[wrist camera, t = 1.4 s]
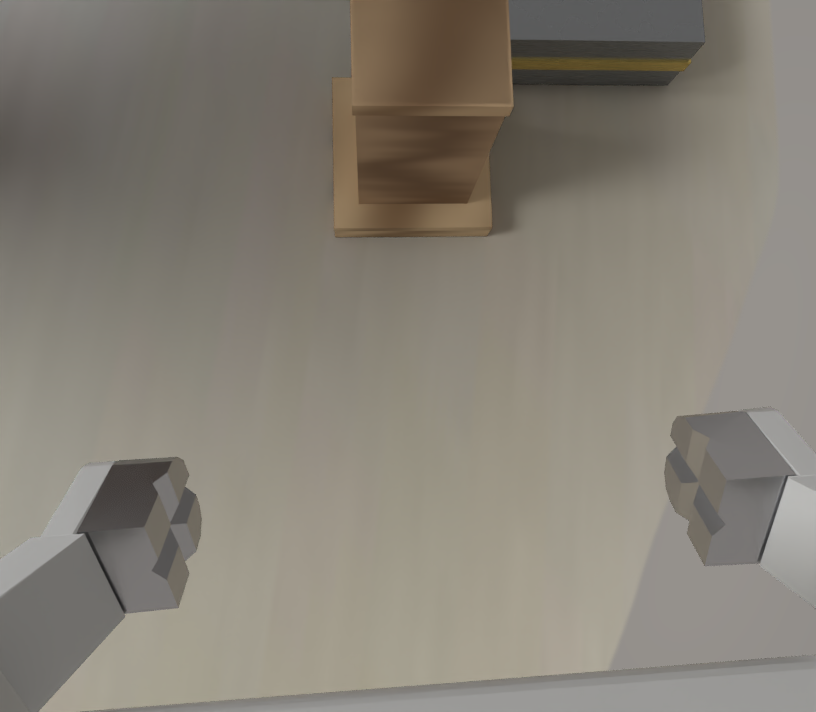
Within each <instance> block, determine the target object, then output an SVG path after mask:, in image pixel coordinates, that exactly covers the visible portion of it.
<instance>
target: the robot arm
mask: <svg viewBox="0 0 816 712" xmlns="http://www.w3.org/2000/svg"><path fill="white" fill-rule="evenodd" d="M670 436H671V438H672V439H673V441H674V443H675V445H676V446H677V447H676V448H675V449H674V450H673V451H672V452H671V453H670V454H669V455H668V456H667V457H666V464H665V471H664V474H665V484H666V490H667V493H668V496H669V499H670V502H671V504H672V506H673V508H674V509H675V512H676V513H678V514H679V515H681V516H682V517H684V518H686V519H688V520H689V526H688V531H687V534H688V536H689V538H690V540H691V542H692V544H693V546H694V547H695V549H696V551H697V553H698V555H699V557H700V558H701V560H702V562H703V564H704V566H717V565H736V564H755V563H760V565H759V566H760V567H761V568H763V569H764V570H766V571H767V572H768V573H769V574H771V575H772V576H773V577H774V578H776V579H777V580H778V581H780V582H781V583H782V584H784V585H785V586H786V587H787V588H789V589H790V590H791V591H793V592H794V593H795V594H797V595H798V596H799V597H800V598H802V599H803V600H804V601H806V602H807V603H808V604H810V605H811V606H812V607H813V608H815V609H816V453H815V452H814V450H813V449H812V448H811V447H810V446H809V445H808V444H807V442H806V441H805V440H804V439H803V438H802V437H801V436H800V435H799V433H798V432H797V431H796V430H795V429H794V428H793V427H792V426H791V424H790V423H789V422H788V421H787V420H786V419H785V418H784V416H783V415H782V414H781V413H780V412H779V411H778V410H776V409H774V408H772V407H763V408H753V409H743V410H739V411H731V412H720V413H708V414H696V415H685V416H677V417H676V419H675V420H674V422H673V425H672V430H671V435H670ZM188 477H189V473H188V470H187V468H186V465H185V463H184V460H182V459H180V458H178V457H168V458H151V459H134V460H119V461H108V462H93V463H88V464H86V465H85V466H83V467H82V468H81V469H80V471H79V472H78V474H77V476H76V477H75V479H74V481H73V482H72V484H71V486H70V488H69V489H68V491H67V493H66V494H65V496H64V498H63V499H62V501H61V503H60V504H59V506H58V508H57V509H56V511H55V513H54V514H53V516H52V518H51V519H50V521H49V523H48V524H47V526H46V528H45V530H44V531H43V533H42V535H41V536H40V537H34V538H30V539H28V540H27V541H25V542H24V543H22V544H21V545H20V546H18V547H17V548H15V549H14V550H13V551H11V552H10V553H8V554H7V555H5V556H4V557H3V558H1V559H0V712H38V711H39V710H40V709H41V708H42V707H43V706H44V705H45V704H46V703H47V702H48V700H49V699H50V698H51V697H52V696H53V695H54V694H55V693H56V692H57V691H58V690H59V688H60V687H61V686H62V685H63V684H64V683H65V682H66V681H67V680H68V679H69V678H70V676H71V675H72V674H73V673H74V672H75V671H76V670H77V669H78V668H79V667H80V666H81V664H82V663H83V662H84V661H85V660H86V659H87V658H88V657H89V656H90V655H91V653H92V652H93V651H94V650H95V649H96V648H97V647H98V646H99V645H100V644H101V643H102V641H103V640H104V639H105V638H106V637H107V636H108V635H109V634H110V633H111V632H112V631H113V629H114V628H115V627H116V626H117V625H118V624H119V623H120V622H121V621H122V620H123V619H124V617H125V614H126V613H136V612H145V611H154V610H164V609H173V608H178V607H179V604H180V601H181V598H182V595H183V592H184V589H185V585H186V582H187V579H188V576H189V571H188V568H187V565H186V563H185V561H186V560H187V559H188V558H189V557H190V556H191V555H192V554H194V553H195V552H196V550H197V547H198V543H199V540H200V537H201V522H202V518H201V511H200V505H199V502H198V499H197V496H196V494H194V493H193V492H192V491H190V490H189V489H187V488H186V487H185V485H186V483H187V480H188ZM82 712H816V655H803V656H791V657H777V658H765V659H751V660H739V661H725V662H714V663H700V664H687V665H674V666H661V667H649V668H636V669H623V670H610V671H597V672H585V673H572V674H559V675H546V676H534V677H521V678H508V679H495V680H482V681H469V682H456V683H443V684H430V685H417V686H404V687H391V688H378V689H365V690H352V691H339V692H326V693H313V694H301V695H288V696H275V697H262V698H249V699H236V700H223V701H210V702H198V703H185V704H172V705H159V706H146V707H133V708H120V709H107V710H95V711H82Z"/></svg>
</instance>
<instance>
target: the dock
mask: <svg viewBox="0 0 816 712" xmlns="http://www.w3.org/2000/svg"><path fill="white" fill-rule="evenodd" d="M508 1H509V22H510V42H511V63H512V84H568V85H668V84H669V83H670V82H671V81H672V80H673V79H674V77H675V76H676V75H677V74H678V73H679V72H680V71H684V70H685V69H686V68H687V67H688V65H689V64H690V63H691V58H692V57H693V56H694V54H695V53H696V52H697V51H698V50H699V49H700V47H701V46H702V45H703V44H704V43H705V35H704V23H703V11H702V0H508Z"/></svg>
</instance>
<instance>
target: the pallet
mask: <svg viewBox="0 0 816 712" xmlns="http://www.w3.org/2000/svg"><path fill="white" fill-rule="evenodd" d="M332 111H333V184H334V231H335V237H443V236H487V235H488V234H489V232H490V230H491V229H492V208H491V185H490V162H489V155H488V157H487V159H486V161H485V164H484V166H483V168H482V171H481V173H480V175H479V177H478V180H477V182H476V184H475V187H474V189H473V191H472V193H471V196H470V198H469V200H468V203H467V204H359V198H358V172H357V146H356V120H355V115H352V78H344V77H332Z"/></svg>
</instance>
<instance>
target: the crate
mask: <svg viewBox="0 0 816 712" xmlns="http://www.w3.org/2000/svg"><path fill="white" fill-rule="evenodd" d="M350 19H351V77H352V115H355V120H356V146H357V172H358V198H359V204H467V203H468V200H469V198H470V196H471V193H472V191H473V189H474V187H475V184H476V182H477V180H478V177H479V175H480V173H481V171H482V168H483V166H484V164H485V161H486V159H487V157H488V155H489V152H490V150H491V148H492V145H493V143H494V141H495V139H496V136H497V134H498V132H499V129H500V127H501V125H502V123H503V120H504V118H505V116H510V114H511V111H512V109H513V107H514V105H513V84H512V63H511V42H510V22H509V1H508V0H350Z"/></svg>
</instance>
